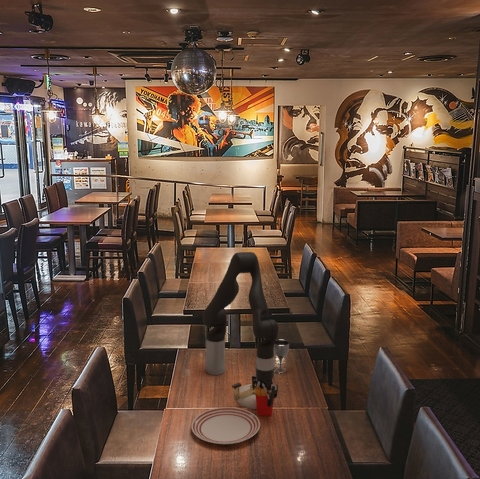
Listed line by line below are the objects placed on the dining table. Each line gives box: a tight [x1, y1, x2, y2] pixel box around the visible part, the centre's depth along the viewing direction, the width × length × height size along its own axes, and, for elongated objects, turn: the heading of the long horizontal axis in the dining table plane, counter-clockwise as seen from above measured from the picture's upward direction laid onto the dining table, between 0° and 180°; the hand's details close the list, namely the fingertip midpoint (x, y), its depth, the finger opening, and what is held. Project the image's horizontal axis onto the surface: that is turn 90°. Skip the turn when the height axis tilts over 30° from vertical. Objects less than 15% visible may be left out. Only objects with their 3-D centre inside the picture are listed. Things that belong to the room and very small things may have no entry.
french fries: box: [254, 387, 275, 416], centre depth 227 cm, size 8×4×12 cm, turn 88°
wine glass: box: [274, 339, 290, 374], centre depth 270 cm, size 8×8×15 cm
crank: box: [231, 382, 256, 401], centre depth 235 cm, size 16×5×7 cm, turn 131°
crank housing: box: [236, 383, 257, 410], centre depth 239 cm, size 16×16×4 cm
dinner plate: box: [190, 406, 261, 445], centre depth 215 cm, size 28×27×3 cm
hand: (264, 403), depth 228 cm, fingers closed on french fries, 6 cm apart
